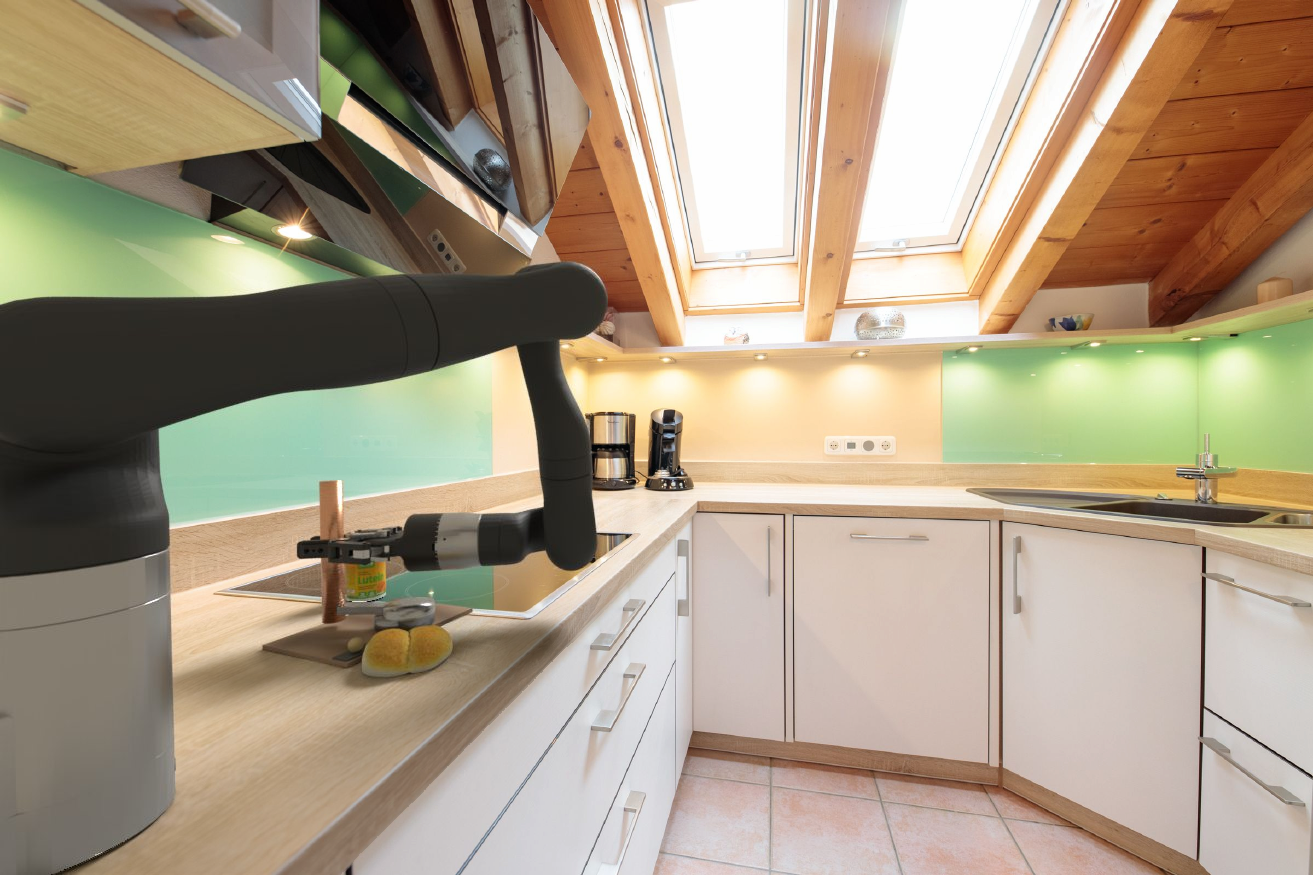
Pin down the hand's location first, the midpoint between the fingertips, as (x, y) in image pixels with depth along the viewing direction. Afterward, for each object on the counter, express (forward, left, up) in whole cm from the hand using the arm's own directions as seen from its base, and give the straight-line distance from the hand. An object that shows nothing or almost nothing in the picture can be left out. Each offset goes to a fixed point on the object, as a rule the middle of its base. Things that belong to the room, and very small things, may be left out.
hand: (305, 547), depth 66 cm
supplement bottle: (+13, +6, -11) cm, 18 cm away
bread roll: (-2, -19, -11) cm, 23 cm away
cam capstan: (+4, -8, -10) cm, 13 cm away
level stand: (+4, -7, -11) cm, 14 cm away
